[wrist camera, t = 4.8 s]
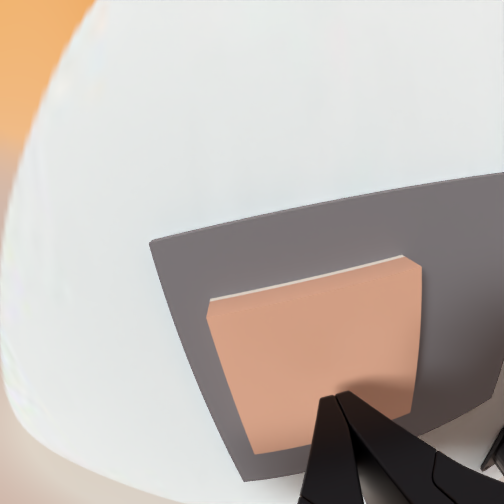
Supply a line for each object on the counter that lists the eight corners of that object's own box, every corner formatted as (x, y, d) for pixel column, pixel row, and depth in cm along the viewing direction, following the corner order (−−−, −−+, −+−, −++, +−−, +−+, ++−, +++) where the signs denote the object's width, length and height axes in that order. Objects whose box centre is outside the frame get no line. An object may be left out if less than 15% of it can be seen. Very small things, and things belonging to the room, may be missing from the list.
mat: (487, 393, 11) (491, 397, 11) (243, 475, 12) (243, 481, 11) (514, 170, 8) (521, 171, 8) (152, 240, 9) (148, 243, 8)
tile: (410, 412, 9) (254, 454, 9) (398, 394, 10) (253, 431, 10) (421, 266, 7) (205, 317, 8) (401, 254, 9) (210, 298, 9)
